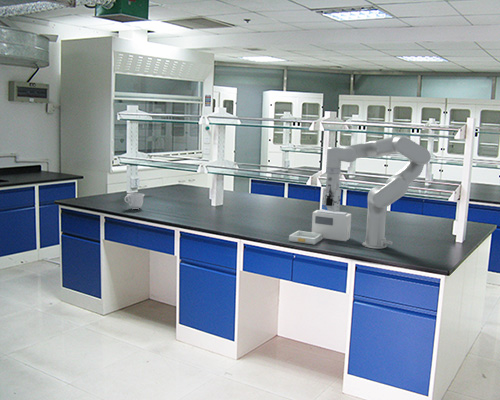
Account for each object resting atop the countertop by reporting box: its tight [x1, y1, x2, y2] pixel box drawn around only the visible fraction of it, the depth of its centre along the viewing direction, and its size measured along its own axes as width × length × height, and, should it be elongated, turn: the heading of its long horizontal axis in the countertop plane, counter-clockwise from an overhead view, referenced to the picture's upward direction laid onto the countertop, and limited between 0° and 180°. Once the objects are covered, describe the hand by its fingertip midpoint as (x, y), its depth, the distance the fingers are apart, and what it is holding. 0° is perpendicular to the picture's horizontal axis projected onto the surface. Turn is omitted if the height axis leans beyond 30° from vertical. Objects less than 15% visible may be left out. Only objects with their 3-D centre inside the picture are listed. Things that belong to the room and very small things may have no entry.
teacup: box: [124, 192, 145, 210], centre depth 358 cm, size 12×15×10 cm
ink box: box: [321, 187, 342, 212], centre depth 274 cm, size 9×5×12 cm, turn 46°
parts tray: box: [288, 230, 324, 245], centre depth 286 cm, size 15×14×3 cm
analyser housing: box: [311, 209, 352, 242], centre depth 292 cm, size 20×9×15 cm, turn 64°
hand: (330, 204), depth 275 cm, fingers closed on ink box, 6 cm apart
